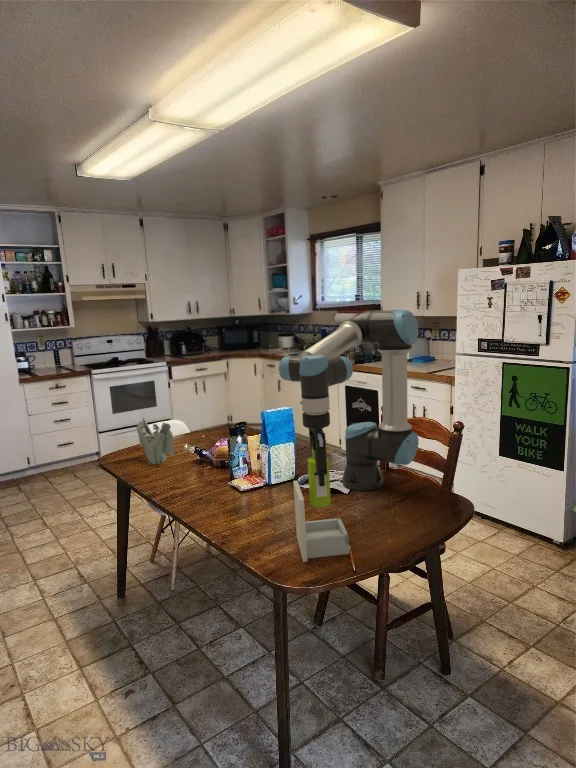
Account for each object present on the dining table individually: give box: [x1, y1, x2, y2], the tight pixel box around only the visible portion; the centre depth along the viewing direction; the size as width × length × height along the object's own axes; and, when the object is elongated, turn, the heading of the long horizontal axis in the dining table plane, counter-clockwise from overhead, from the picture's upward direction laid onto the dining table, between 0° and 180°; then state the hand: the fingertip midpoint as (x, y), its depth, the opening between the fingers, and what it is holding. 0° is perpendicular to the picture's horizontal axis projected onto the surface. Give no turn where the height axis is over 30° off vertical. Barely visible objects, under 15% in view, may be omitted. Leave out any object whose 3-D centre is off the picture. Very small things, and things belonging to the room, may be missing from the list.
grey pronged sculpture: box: [135, 417, 175, 465], centre depth 224 cm, size 28×7×20 cm, turn 49°
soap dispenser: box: [307, 446, 332, 508], centre depth 137 cm, size 6×7×20 cm
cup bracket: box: [292, 480, 350, 563], centre depth 139 cm, size 13×14×18 cm
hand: (319, 491), depth 138 cm, fingers closed on soap dispenser, 6 cm apart
